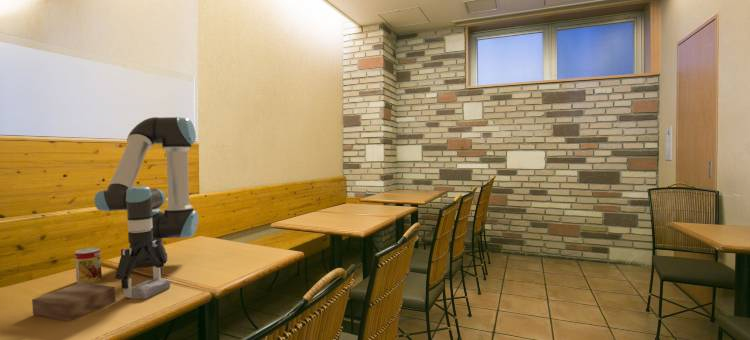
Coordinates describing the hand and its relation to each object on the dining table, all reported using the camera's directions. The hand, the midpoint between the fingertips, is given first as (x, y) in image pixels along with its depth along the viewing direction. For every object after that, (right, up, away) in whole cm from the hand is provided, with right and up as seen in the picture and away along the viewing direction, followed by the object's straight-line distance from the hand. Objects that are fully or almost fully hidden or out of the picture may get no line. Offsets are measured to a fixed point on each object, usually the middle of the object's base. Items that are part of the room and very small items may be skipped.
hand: (143, 290), depth 136 cm
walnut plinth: (-14, -1, -14) cm, 19 cm away
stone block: (+2, -1, -1) cm, 2 cm away
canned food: (-28, 0, +12) cm, 30 cm away
